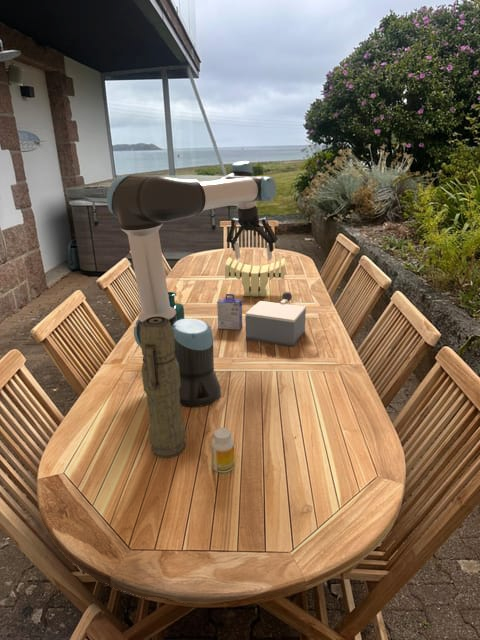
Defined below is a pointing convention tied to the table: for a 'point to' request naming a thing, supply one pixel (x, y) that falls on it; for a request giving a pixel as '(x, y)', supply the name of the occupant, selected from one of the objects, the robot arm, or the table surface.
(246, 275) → the slatted curved stool
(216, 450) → the supplement bottle
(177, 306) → the pitcher
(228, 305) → the ink cartridge box
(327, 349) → the table surface
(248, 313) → the lid
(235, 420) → the table surface
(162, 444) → the thermos
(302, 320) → the carton
